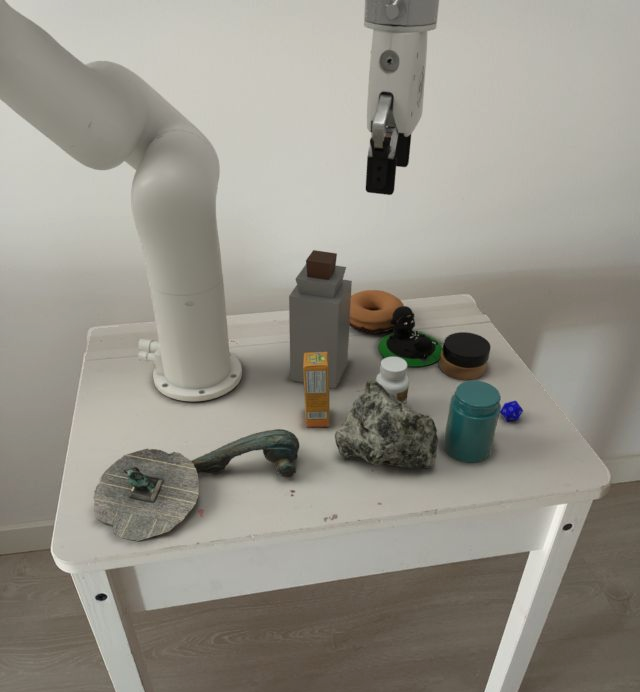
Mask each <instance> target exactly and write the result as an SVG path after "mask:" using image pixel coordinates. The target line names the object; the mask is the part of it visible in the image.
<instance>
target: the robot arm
mask: <svg viewBox="0 0 640 692" xmlns="http://www.w3.org/2000/svg"><path fill="white" fill-rule="evenodd" d="M439 6H440V0H364V15H363V26H364V27H365V28H367V29H370V30H372V39H371V50H370V60H369V61H370V62H369V71H368V86H367V89H368V90H367V102H366V103H367V104H366V128H367V130H368V132H370V133H371V135H370V139H369V145H368V151H367V157H366V158H367V159H366V175H365V191H366V193H369V194H376V195H377V194H378V195H387V196H392V195H393V194H394V192H395V186H396V185H395V184H396V175H397V173H396V172H397V167H398V168H399V167H400V168H407V167H408V165H409V163H410V153H411V143H412V142H411V141H412V134H413V132H414V131H415V130H416V127H418V124H419V122H420V121H421V119H422V115H423V107H424V96H425V95H424V93H425V78H426V67H427V54H428V32H430V31H434V30H436V29H437V24H438V17H439ZM0 101H1V102H3V103H4V104H5V105H6V106H7V107H8V108H10V109H11V110H12V111H13V112H15V113H16V114H17V115H18V116H19V117H21V118H22V119H23V120H25V121H26V122H27V123H28V124H30V125H31V126H32V127H34V128H35V129H36V130H37V131H38V132H40V133H41V134H42V135H44V137H46V138H48V139H49V140H50V141H51V142H53V143H54V144H55V145H56V146H58V147H59V148H60V149H61V150H62V151H63V152H64V153H66V154H67V155H68V156H69V157H71V158H73V160H75V161H76V162H78V163H80V164H81V165H83V166H85V167H87V168H90V169H93V170H95V171H110V170H112V169H115V168H117V167H119V166H120V165H122V164H123V163H124V162H125V163H126V164H127V165H129V167H131V168H132V169H134V170H135V172H134V175H133V179H132V183H131V189H130V205H131V211H132V217H133V220H134V225H135V228H136V231H137V235H138V238H139V242H140V246H141V250H142V254H143V259H144V264H145V269H146V270H145V271H146V276H147V282H148V286H149V291H150V292H149V293H150V297H151V305H152V309H153V316H154V322H155V327H156V333H157V334H156V335H157V339H158V341H156V340H153V339H147V338H140V339H139V340H138V344H137V349H138V355H137V357H138V360H139V361H143V362H149V363H150V362H151V363H152V364H153V365H155V366H154V368H153V372H152V377H153V382H154V386H155V387H156V389H157V390H158V391H159V392H160V393H161V394H162V395H164V396H166V397H168V398H169V399H174V400H177V401H182V402H204V401H210V400H214V399H217V398H219V397H222V396H224V395H226V394H228V393H229V392H231V391H233V389H235V388H236V387H237V386H238V384H239V383H240V381H241V380H242V376H243V367H242V363H241V361H240V359H238V357H237V356H236V354H233V353H232V352H230V343H229V330H228V320H227V319H228V318H227V308H226V307H227V305H226V295H225V294H226V293H225V284H224V274H223V263H222V255H221V253H222V252H221V245H220V239H219V238H220V237H219V230H218V222H217V221H218V220H217V194H218V187H219V180H220V172H221V171H220V170H221V169H220V160H219V156H218V154H217V151H216V149H215V147H214V145H213V144H212V142H211V141H210V140H209V138H207V136H206V135H205V134H204V133H203V132H202V131H201V130H200V129H199V128H198V127H197V126H196V125H194V124H193V123H192V122H191V121H190V120H189V119H188V118H187V117H186V116H184V115H183V114H182V113H181V111H179V110H178V109H177V108H176V107H175V106H174V105H172V104H171V103H170V102H169V101H168V100H167V99H166V98H164V96H162V95H161V94H160V93H159V92H158V91H157V90H156V89H154V87H152V86H151V85H150V84H149V83H148V82H147V81H145V80H144V79H143V78H142V77H141V76H139V75H138V74H137V73H136V72H134V71H132V70H131V69H130V68H127V67H125V66H124V65H122V64H120V63H116V62H114V61H108V60H95V61H90V62H88V63H84V62H82V61H81V60H79V58H78V57H76V56H74V55H73V54H72V53H71V52H70V51H69V50H68V49H66V48H65V47H64V46H62V45H61V44H60V43H59V42H58V41H57V40H56V39H55V38H54V37H53V36H52V35H51V34H50V33H49V32H47V31H46V29H43V28H42V27H41V26H40V25H39V24H37V23H36V22H34V21H33V20H31V19H30V18H28V17H26V16H25V15H23V14H22V13H21V12H19V11H18V10H16V9H15V8H13V7H12V6H11V5H10V4H9V3H8V2H7V1H6V0H0Z"/></svg>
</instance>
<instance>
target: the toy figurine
mask: <svg viewBox="0 0 640 692" xmlns="http://www.w3.org/2000/svg"><path fill="white" fill-rule="evenodd" d="M391 324H392V325H394V327H393V329H392V332H391V333H389V334H387V335H385V336H383V337H382V338H381V339H380V340H379V342H378V345H377V347H378V348H377V349H378V352H379V353H380V355H381V356H382V357H383V358H384V359H385V358H387V357H399V358H402V359H404V360H405V361H406V362H407V367H424V366H429V365H432V364H434V363H435V362H438V361H440V355H441V351H442V349H443V345H442V344H441V343H440V342H439V340H437V339H436V338H434V337H432V336H431V335H429V334H426V333H423V332H419V331H418V330H415V331H414V330H413V329H414V328H415V326H416V321H415V313H414V311H413V310H412V308H411V307H410V306H406V305H404V306H401V307H398V308H397V309H396V310H395V311H394V312H393V315H392V321H391Z"/></svg>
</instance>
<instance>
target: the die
mask: <svg viewBox="0 0 640 692" xmlns="http://www.w3.org/2000/svg"><path fill="white" fill-rule="evenodd" d="M523 412H524V409H523V408H522V407H521V405H520V404H519V402H518V401H517V400H513V401H508V402H505V403H504V404H503V405H502V406H501V410H500V415H501V416H502V417H503V419H504V420H505V421H506V422H507V423H508V422H509V423H510V422H512V421H518V420H519V419H520V417H521V415H522V414H523Z"/></svg>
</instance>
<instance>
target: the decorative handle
mask: <svg viewBox="0 0 640 692" xmlns="http://www.w3.org/2000/svg"><path fill="white" fill-rule="evenodd" d="M299 450H300V442H299V439H298V437H297V436H296V434H294V433H293V432H292V431H289V430H286V429H283V428H276V429H271V430H269V429H268V430H265V431H259V432H255V433H252V434H249V435H247V436H243V437H240V438H237V439H236V440H234V441H231V442H228V443H226V444H225V445H222V446H221V447H218V448H216V449H214V450H211V451H210V452H207V453H205V454H203V455H201V456H199V457H196V458H194V459H192V460H190V461H191V462H192V463H193V464H194V467H195V468H196V471H197V474H201V473H203V474H219V473H221V472H222V471H225V469H226V467H227V466H228V465H229V464H230V462H231V461H232V460H233V459H235V457H239V456H240V457H241V456H242V455H244V454H247V453H251V452H253V451H262V453H263V456H264V458H265V459H266V460H267V461H269V462H271V463H272V464H273V465H274V467H275V471H276V472H277V473H279V474H280V475H281V477H282V478H287V479H291V478H293V477H294V476H295V474H296V473H297V468H296V466H294V465H293V462H294V461H296V460H297V459H298V457H299V456H298V452H299Z"/></svg>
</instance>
